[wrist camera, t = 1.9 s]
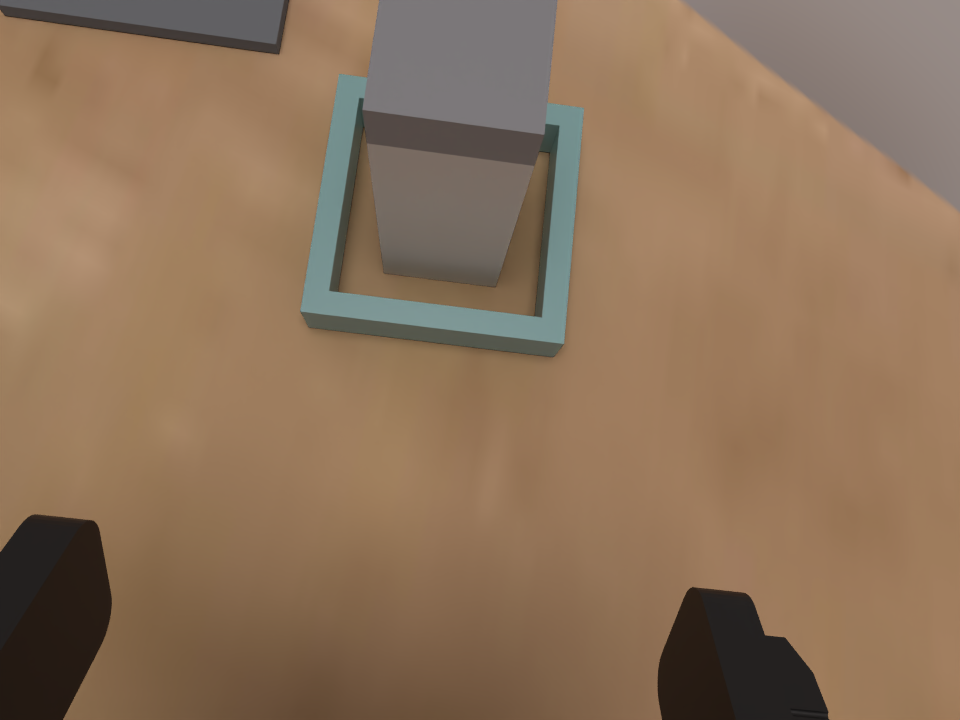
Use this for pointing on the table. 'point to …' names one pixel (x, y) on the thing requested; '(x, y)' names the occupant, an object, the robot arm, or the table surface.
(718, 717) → the robot arm
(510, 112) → the plug
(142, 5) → the plate
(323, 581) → the table surface
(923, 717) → the table surface
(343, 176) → the collar
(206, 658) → the table surface
